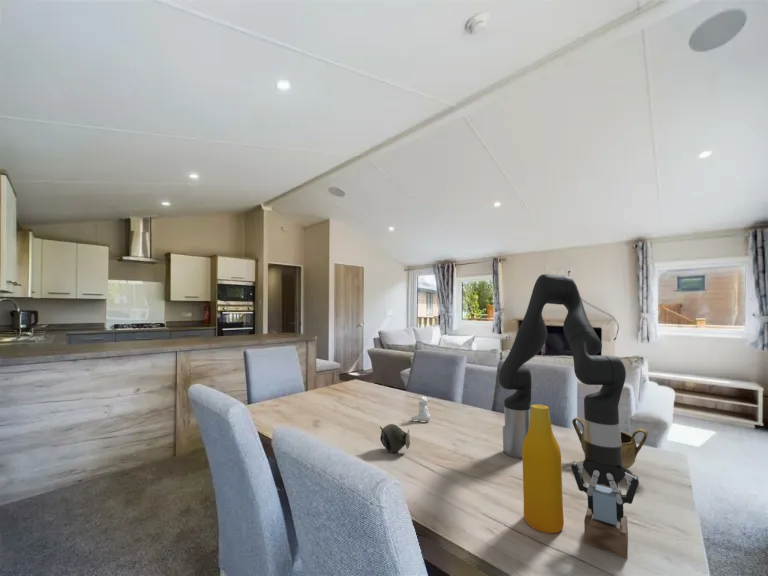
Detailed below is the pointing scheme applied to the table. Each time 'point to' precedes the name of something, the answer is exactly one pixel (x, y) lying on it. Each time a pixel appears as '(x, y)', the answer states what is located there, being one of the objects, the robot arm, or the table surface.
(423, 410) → the sitting furry creature
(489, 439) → the table surface
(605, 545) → the walnut base
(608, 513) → the lid block
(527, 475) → the beer bottle
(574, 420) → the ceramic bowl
